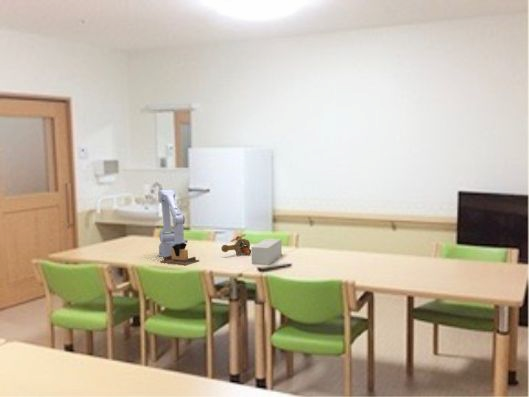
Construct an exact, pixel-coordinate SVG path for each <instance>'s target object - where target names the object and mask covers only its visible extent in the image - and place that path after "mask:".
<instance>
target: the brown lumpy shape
mask: <svg viewBox="0 0 529 397" xmlns="http://www.w3.org/2000/svg"><path fill="white" fill-rule="evenodd" d="M245 236H246V234H242V235H237V236H236V237H235V238H233V239H231V240H230V243H233V242H234V241H236V242H235V244H231V245H228V244H222V246H221V249H220V250H221V251H222V252H223V253H227V252H229V251H235V254H236V256H238V257H239V256H240V255H245V256H250V255H252V250H251V249H252V248H250V247H251V243H250V241H249V240H248V239H247V238H243V237H245Z"/></svg>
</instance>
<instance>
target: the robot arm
mask: <svg viewBox="0 0 529 397" xmlns="http://www.w3.org/2000/svg"><path fill="white" fill-rule="evenodd" d="M175 198H176V191H175V189H173V188H172V189H160V190H159V191H158V203H160V204H161V213H162V224H163V228H162V229H161V230H160V231H159V240H160V243H159V244H158V257H162V258H164V257H167V256H170V255H172V250H171V249H174V251H175V255H176V256H179V253H180V249H186V247H187V244H188V239H186V238H185V237H184V224H185V223H186V222H185V221H186V218H185V215H184V214H183V213H182V212H181V210H180V208H179V206H177V203H176V201H175ZM171 217H172V219H171ZM171 220H172V223H171ZM172 226H173V228H172Z"/></svg>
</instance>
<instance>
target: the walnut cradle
mask: <svg viewBox="0 0 529 397" xmlns="http://www.w3.org/2000/svg"><path fill="white" fill-rule="evenodd" d="M198 262H200V259H197V258H196V256H191V257H188V259H185V260H179V259H172V255H170V256H167V257H163V260H160V261H159V263H162V264H169V265H178V266H185V267H186V266H189V265H191V264H194V263H198Z"/></svg>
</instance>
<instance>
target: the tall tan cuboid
mask: <svg viewBox="0 0 529 397" xmlns="http://www.w3.org/2000/svg"><path fill="white" fill-rule="evenodd" d="M171 250H172V259H179V260H185V259H188V258H189V253H188V252H189V250H188V249H186V248H185V249H180V253H179V256H176V255H175V251H174V249H171Z"/></svg>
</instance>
